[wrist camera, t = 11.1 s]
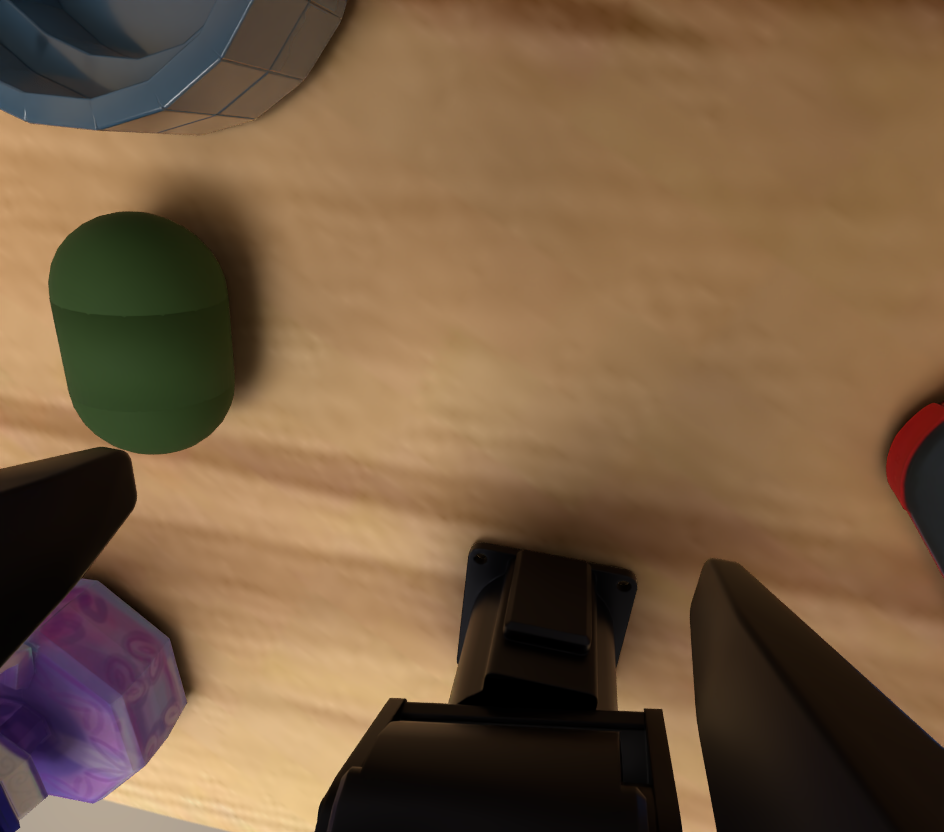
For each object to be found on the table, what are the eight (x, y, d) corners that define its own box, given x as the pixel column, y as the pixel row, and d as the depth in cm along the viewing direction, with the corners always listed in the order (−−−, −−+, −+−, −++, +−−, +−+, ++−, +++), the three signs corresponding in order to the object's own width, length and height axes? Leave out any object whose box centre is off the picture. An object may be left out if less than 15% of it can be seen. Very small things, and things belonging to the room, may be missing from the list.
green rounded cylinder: (268, 434, 23) (167, 497, 18) (163, 406, 24) (46, 459, 20) (255, 216, 20) (130, 231, 15) (134, 198, 21) (-14, 207, 16)
